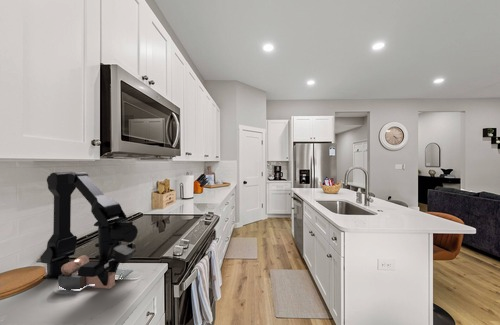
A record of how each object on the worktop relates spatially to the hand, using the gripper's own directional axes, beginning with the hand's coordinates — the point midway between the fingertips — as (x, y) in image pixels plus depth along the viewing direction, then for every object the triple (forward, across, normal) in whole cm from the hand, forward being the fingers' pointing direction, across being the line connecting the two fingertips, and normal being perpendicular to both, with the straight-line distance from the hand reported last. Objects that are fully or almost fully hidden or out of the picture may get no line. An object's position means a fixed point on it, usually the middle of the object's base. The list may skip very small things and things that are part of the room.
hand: (108, 283), depth 76 cm
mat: (+1, +7, +5) cm, 8 cm away
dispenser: (+1, 0, +11) cm, 11 cm away
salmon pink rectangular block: (+1, 0, +4) cm, 4 cm away
